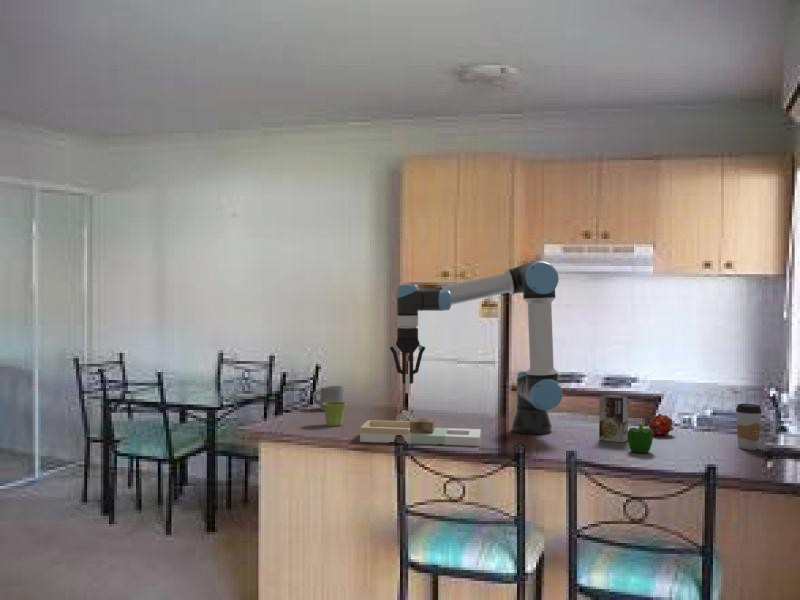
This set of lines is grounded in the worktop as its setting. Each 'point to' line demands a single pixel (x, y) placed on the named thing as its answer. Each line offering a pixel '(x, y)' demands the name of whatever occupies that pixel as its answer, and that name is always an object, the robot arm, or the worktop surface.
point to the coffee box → (613, 418)
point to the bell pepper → (640, 439)
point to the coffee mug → (329, 395)
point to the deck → (417, 434)
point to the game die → (404, 416)
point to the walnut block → (422, 425)
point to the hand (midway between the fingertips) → (407, 392)
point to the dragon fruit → (660, 425)
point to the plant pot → (334, 413)
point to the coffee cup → (748, 425)
